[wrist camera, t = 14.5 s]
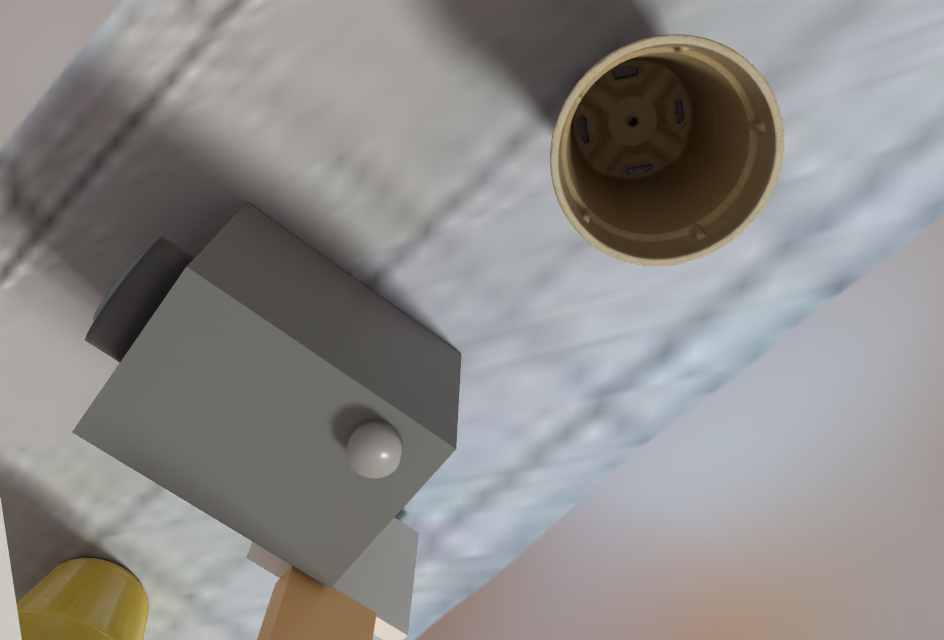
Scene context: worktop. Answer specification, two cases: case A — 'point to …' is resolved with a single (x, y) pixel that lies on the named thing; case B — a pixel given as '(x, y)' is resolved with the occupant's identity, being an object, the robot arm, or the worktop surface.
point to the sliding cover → (344, 593)
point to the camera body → (272, 392)
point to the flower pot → (667, 150)
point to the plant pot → (84, 604)
